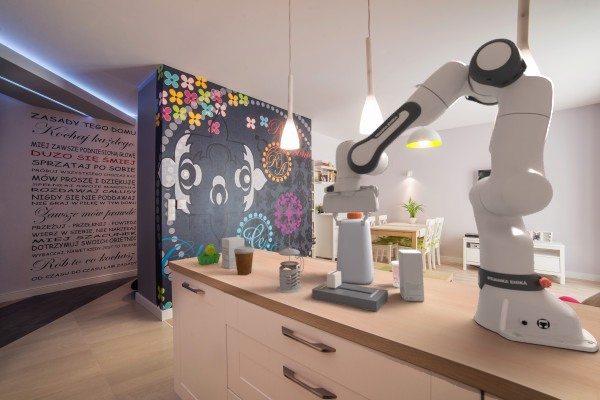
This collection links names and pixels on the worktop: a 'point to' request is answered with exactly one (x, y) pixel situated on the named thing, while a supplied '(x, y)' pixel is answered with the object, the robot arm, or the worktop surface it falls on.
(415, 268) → the skincare box
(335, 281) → the fader knob
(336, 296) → the fader console
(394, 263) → the beverage cup
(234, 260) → the supplement box
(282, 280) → the french press
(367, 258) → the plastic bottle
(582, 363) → the worktop surface
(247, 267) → the disposable coffee cup
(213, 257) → the fruit basket
